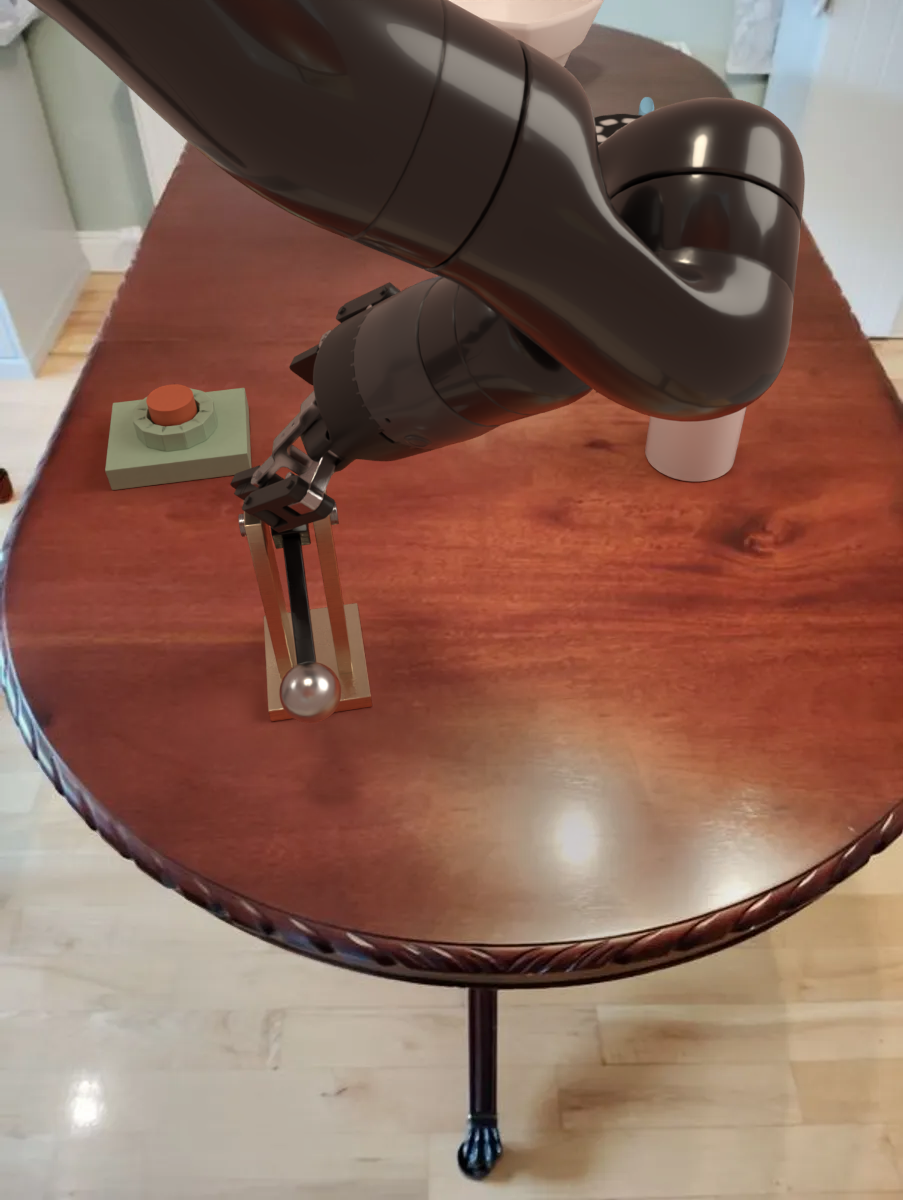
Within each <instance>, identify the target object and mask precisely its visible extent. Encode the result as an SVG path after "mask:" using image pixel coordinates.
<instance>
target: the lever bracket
mask: <svg viewBox="0 0 903 1200" xmlns="http://www.w3.org/2000/svg"><path fill="white" fill-rule="evenodd" d="M324 493H325V494H326V495H328V492H327V489H326V490H325V492H324ZM242 501H243V503H244V500H242ZM237 517H238V520H237V521H238V528H239V533H240V535H241V537H244V538H245V537H246V540H247V544H248V547H249V552H250V556H251V561H252V565H253V569H254V573H255V578H256V581H257V587H258V590H259V594H260V599H261V604H262V607H263V611H264V615H263V617H262V618H263V636H264V656H265V673H266V674H265V675H266V676H265V677H266V691H267V692H266V696H267V712H268V716H269V719H270V722H276V721H283V720H290V719H293V718H292V717H291V716H290V715H289V714H288V713H287V712H286V711H285V710H284V708H283V706H282V704H281V701H280V695H279V691H280V685H281V682H282V679H283V678H284V676H285V674H286V673H287V672H288V671H289V670H290V669H291V668H292V667H294V666H296V665H297V659H296V651H295V643H294V634H293V626H292V618H291V611H289V612H288V610H287V604H286V599H285V595H284V591H283V586H282V581H281V576H280V572H279V566H278V562H277V557H276V553H275V548H274V542H273V538H272V535H271V528H270V526H269V525H267V524H266V523H264V522H262V521H261V520H259V519H258V518H256V517H254V516H253V515H250V514H248V513H246V512H245V511H243V513H239V514H238V516H237ZM339 520H340V519H339V513H338V505H337V502H336V501H335V505H334V508H333V510H332V512H331V513H330V514H329V515H328V516H327V517H326V518H325V519H322V520H319V521H316V522H312V524H313V531H314V536H315V541H316V549H317V555H318V560H319V566H320V572H321V578H322V583H323V590H324V595H325V601H326V606H325V607H318V608H311V609H310V614H311V622H312V630H313V638H314V646H315V654H316V662H318V663H321V664H324V665H326V666H327V667H329V668H330V669H331V670H332V671H333V672H334V673H335V674H336V676H337V677H338V679H339V682H340V685H341V699H340V702H339V705H338V707H337V708H336V710H335V711H334V712H333V713H339V712H344V711H345V712H346V711H352V710H358V709H365V708H371V707H373V702H372V701H373V700H372V694H371V687H370V680H369V679H370V678H369V673H368V667H367V666H368V665H367V659H366V651H365V645H364V638H363V632H362V624H361V618H360V617H361V616H360V610H359V604H358V602H354V603H347V604H345V603H344V598H343V597H344V596H343V591H342V585H341V577H340V572H339V571H340V569H339V564H338V558H337V557H338V556H337V551H336V544H335V539H334V537H335V536H334V532H333V531H334V530H333V526H336V525H340V521H339Z"/></svg>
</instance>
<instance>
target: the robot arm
mask: <svg viewBox="0 0 903 1200" xmlns="http://www.w3.org/2000/svg"><path fill="white" fill-rule="evenodd" d="M27 2H28V3H30V4H31V5H33V6H34V7H36V8H37V9H38V10H39V11H40V12H42V13H43V14H45V15H46V16H47V17H49V18H50V19H51V20H53V21H54V22H55V23H57V24H58V25H59V26H60V27H61V28H62V29H63V30H65V32H67V33H68V34H69V35H71V37H73V38H74V39H75V40H76V41H77V42H79V43H80V44H81V45H82V46H83V47H85V49H87V50H88V51H89V52H90V53H92V54H93V55H94V56H95V57H96V58H98V59H99V60H100V61H101V62H102V63H103V64H104V65H105V66H106V67H107V68H108V69H109V70H110V71H111V72H112V73H113V74H115V76H116V77H117V78H119V80H121V81H122V82H123V83H124V84H125V85H126V86H127V87H128V88H129V89H130V90H131V91H132V92H133V93H134V94H136V95H137V97H139V98H140V99H141V101H143V102H144V103H145V104H146V105H147V106H148V107H149V108H150V109H152V110H153V111H154V112H155V113H156V114H157V115H158V116H159V117H161V119H163V121H165V122H166V123H167V124H168V125H169V126H170V127H171V128H172V129H173V130H174V131H176V133H178V134H179V135H180V136H181V137H182V138H183V139H184V140H185V141H186V142H188V143H189V145H191V146H192V147H193V148H194V149H196V150H197V151H198V152H199V153H201V154H202V155H203V156H204V157H205V158H207V159H208V160H209V161H210V162H212V163H213V164H215V165H216V166H217V167H218V168H219V169H221V170H222V171H224V172H225V173H226V174H228V176H230V177H232V178H233V179H234V180H236V181H237V182H238V183H240V184H241V185H243V186H245V187H246V188H248V189H249V190H250V191H252V192H253V193H255V194H256V195H258V196H259V197H261V198H262V199H264V200H266V201H268V202H269V203H270V204H273V205H274V206H276V207H278V208H279V209H281V210H282V211H284V212H286V213H288V214H290V215H293V216H294V217H297V218H299V219H301V220H302V221H305V222H307V223H309V224H311V225H313V226H315V227H318V228H319V229H322V230H325V231H327V232H330V233H331V234H334V235H337V236H339V237H342V238H344V239H348V240H350V241H352V242H354V243H358V244H360V245H361V246H362V245H363V246H365V247H367V248H369V249H372V250H375V251H377V252H379V253H382V254H383V255H387V256H390V257H392V258H393V259H397V260H398V261H399V260H400V261H401V262H404V263H407V264H409V265H411V266H414V267H416V268H419V269H421V270H424V271H426V272H428V273H431V274H434V275H435V277H431V278H428V279H427V278H426V279H424V280H421V281H419V282H416V283H414V284H413V285H410V286H408V287H406V288H404V289H402V290H400V289H399V288H398V287H396V286H395V285H394V284H393V283H392V282H390V281H389V282H386V283H384V284H383V285H381V286H378V287H376V288H374V289H372V290H370V291H367V292H366V293H364V294H362V295H360V296H358V297H356V298H353V299H351V300H349V301H347V302H345V303H344V304H343V305H341V306H340V307H339V309H338V310H337V314H336V316H335V320H336V321H337V322H339V324H338V325H336V326H335V327H334V328H332V329H328V330H327V331H326V332H324V333H323V334H322V335H321V337H320V338H319V342H318V344H315V345H313V346H312V347H310V348H308V349H306V350H305V351H303V352H301V353H299V354H297V355H295V356H294V357H293V358H292V360H291V362H290V364H289V366H288V367H289V370H290V371H291V372H293V373H294V374H295V375H297V376H298V377H299V378H300V379H302V380H303V381H304V382H306V383H307V384H309V385H311V386H313V391H312V392H311V393H309V395H307V397H306V398H305V399H304V400H303V401H302V402H301V404H300V407H299V412H298V413H297V414H296V415H295V417H293V418H292V419H291V420H290V422H288V423H287V425H286V426H285V427H284V428H283V429H282V430H281V431H280V432H279V433H278V434H277V436H275V437H274V438H273V441H272V449H271V454H270V456H269V457H268V458H267V459H266V460H264V461H263V463H262V464H261V465H256V466H253V467H251V468H250V469H247V470H244V471H241V472H238V473H236V474H235V475H233V476H232V480H230V486H231V488H233V489H234V492H233V494H234V495H235V496H236V497H237V498H239V499H240V500H242V501H243V500H244V503H243V504H242V506H241V510H242V511H243V512H244V511H245V512H246V513H248V514H250V515H253V516H254V517H256V518H258V519H259V520H261V521H262V522H264V523H266V524H267V525H269V528H270V529H271V528H272V529H274V530H275V531H277V532H279V533H280V532H283V531H286V530H290V529H293V528H296V527H299V526H303V525H306V524H313V522H316V521H319V520H322V519H325V518H326V517H327V516H328V515H329V514H330V513H331V512H332V510H333V508H334V505H335V502H336V500H335V498H332V497H331V496H329V495H328V494H327V495H326V494H325V493H324V492H325V490H326V491H327V488H328V485H329V483H330V481H331V478H332V476H334V474H335V473H338V472H341V471H343V470H344V469H346V468H347V467H348V466H349V465H350V464H351V463H353V462H354V461H356V460H363V461H372V462H394V461H400V460H402V459H406V458H409V457H410V458H411V457H414V456H417V455H421V454H424V453H427V452H431V451H435V450H439V449H441V448H445V447H448V446H452V445H456V444H459V443H463V442H467V441H470V440H473V439H476V438H478V437H481V436H483V435H486V434H487V433H489V432H492V431H493V430H495V429H497V428H498V427H500V426H503V425H506V424H509V423H512V422H516V421H520V420H523V419H527V418H530V417H534V416H537V415H540V414H545V413H548V412H551V411H554V410H558V409H560V408H563V407H568V406H570V405H572V404H574V403H575V402H577V401H579V400H580V399H582V398H585V396H587V395H588V394H589V393H591V392H592V391H595V392H597V393H598V394H600V395H601V396H603V397H604V398H606V399H608V400H610V401H612V402H614V403H615V404H617V405H619V406H622V407H624V408H626V409H628V410H631V411H633V412H636V413H639V414H642V415H645V416H649V417H650V416H651V417H655V418H659V419H665V420H671V421H681V422H697V421H706V420H713V419H717V418H720V417H724V416H727V415H730V414H733V413H735V412H738V411H740V410H741V409H743V408H745V407H747V408H748V406H750V405H752V404H754V403H755V402H756V401H757V400H760V398H761V397H762V396H763V395H764V394H765V393H766V392H767V391H768V390H769V389H770V388H771V387H772V385H773V384H774V383H775V382H776V380H777V378H778V377H779V375H780V373H781V372H782V369H783V366H784V363H785V360H786V356H787V354H788V351H789V347H790V346H789V345H790V341H791V340H790V338H791V333H792V323H793V312H794V298H795V291H796V290H795V289H796V281H797V280H796V279H797V269H798V259H799V249H800V241H801V240H800V239H801V229H802V221H803V211H804V199H805V187H806V177H805V166H804V158H803V154H802V152H801V149H800V147H799V144H798V141H797V139H796V137H795V135H794V133H793V132H792V131H791V129H790V128H789V127H788V126H787V125H786V124H785V123H784V122H783V121H782V119H780V118H779V117H778V116H777V115H776V114H774V113H772V112H771V111H770V110H768V109H767V108H764V107H762V106H760V105H758V104H755V103H753V102H749V101H746V100H743V99H739V98H731V97H713V96H712V97H711V96H710V97H699V98H691V99H686V100H682V101H679V102H678V101H677V102H674V103H671V104H667V105H665V106H661V107H658V108H656V109H654V111H651V112H649V113H647V114H645V115H643V116H641V117H639V118H637V119H636V120H634V121H632V122H630V123H628V124H627V125H625V126H624V127H622V128H620V129H619V130H618V131H616V132H615V133H614V134H612V135H611V136H610V137H608V138H607V139H606V140H605V141H603V142H602V143H601V144H600V145H599V146H598V140H597V132H596V125H595V114H594V110H593V107H592V104H591V100H590V99H589V97H588V95H587V93H586V91H585V88H584V87H583V85H582V84H581V83H580V81H579V80H578V79H577V77H576V76H575V75H574V74H573V73H572V72H570V70H568V69H567V68H566V67H565V66H564V67H563V66H561V65H560V64H559V63H557V62H556V61H554V60H553V59H551V58H550V57H548V56H546V55H545V54H543V53H541V52H540V51H538V50H536V49H535V48H533V47H531V46H529V45H528V44H526V43H524V42H523V41H521V40H517V39H515V37H514V36H512V35H510V34H508V33H506V32H505V31H503V30H501V29H499V28H497V27H496V26H494V25H492V24H490V23H488V22H487V21H485V20H483V19H481V18H479V17H478V16H476V15H474V14H472V13H470V12H469V11H467V10H465V9H463V8H461V7H460V6H458V5H456V4H454V3H452V2H451V1H449V0H27ZM299 438H300V439H301V442H302V445H303V447H304V449H305V451H302V450H301V449H300V448H298V447H297V446H295V445H294V443H295V442H296V441H298V440H299ZM282 468H286V469H288V470H290V471H288V472H287V473H286V474H285V476H284V478H283V477H282V476H281V475H280V474H278V473H277V472H278V471H279V470H280V469H282Z"/></svg>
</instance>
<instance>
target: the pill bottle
mask: <svg viewBox="0 0 903 1200" xmlns="http://www.w3.org/2000/svg"><path fill="white" fill-rule="evenodd" d="M747 408H748V406H747V407H745V408H743V409H741V410H740V411H738V412H735V413H733V414H730V415H727V416H724V417H720V418H717V419H713V420H706V421H697V422H681V421H671V420H665V419H659V418H655V417H651V416H649V419H648V427H647V434H646V440H645V448H644V453H645V457H646V460H647V462H648V463H649V464H650V465H651V466H652V467H653V468H654V469H655V470H656V471H658V472H659V473H661V474H663V475H665V476H667V477H669V478H672V479H675V480H680V481H684V482H691V483H693V482H694V483H695V482H699V483H700V482H706V481H712V480H716V479H719V478H720V477H722V476H724V475H726V474H727V473H728V472H730V470H731V469H732V468H733V466H734V464H735V461H736V456H737V452H738V448H739V443H740V439H741V436H742V435H741V434H742V430H743V425H744V421H745V417H746V413H747V412H746V411H747Z"/></svg>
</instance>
